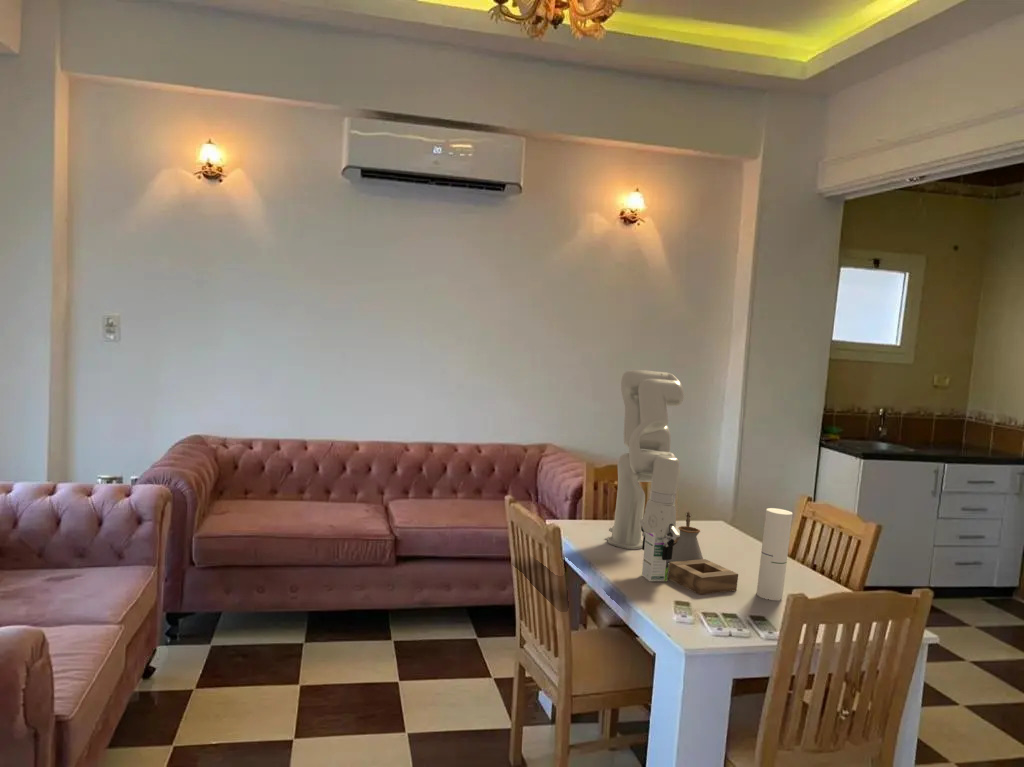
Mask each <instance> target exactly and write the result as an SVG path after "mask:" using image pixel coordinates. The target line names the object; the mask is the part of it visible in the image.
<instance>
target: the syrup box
mask: <svg viewBox="0 0 1024 767" xmlns="http://www.w3.org/2000/svg"><path fill="white" fill-rule="evenodd" d="M667 536H668V535H667ZM667 540H668V542H669V539H667ZM663 546H665V544H664V541H663V538H658V537H656V534H655V533H654V532H653V533H651V534H649V533H647V532H646V535H645V546H644V550H643V560H642V567H641V568H642V569H641V570H642V571H641V576H642V577H643V578H644V579H645V580H647V581H649V582H667V581H668V573H669V560H663V559H662V553H663Z"/></svg>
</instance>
